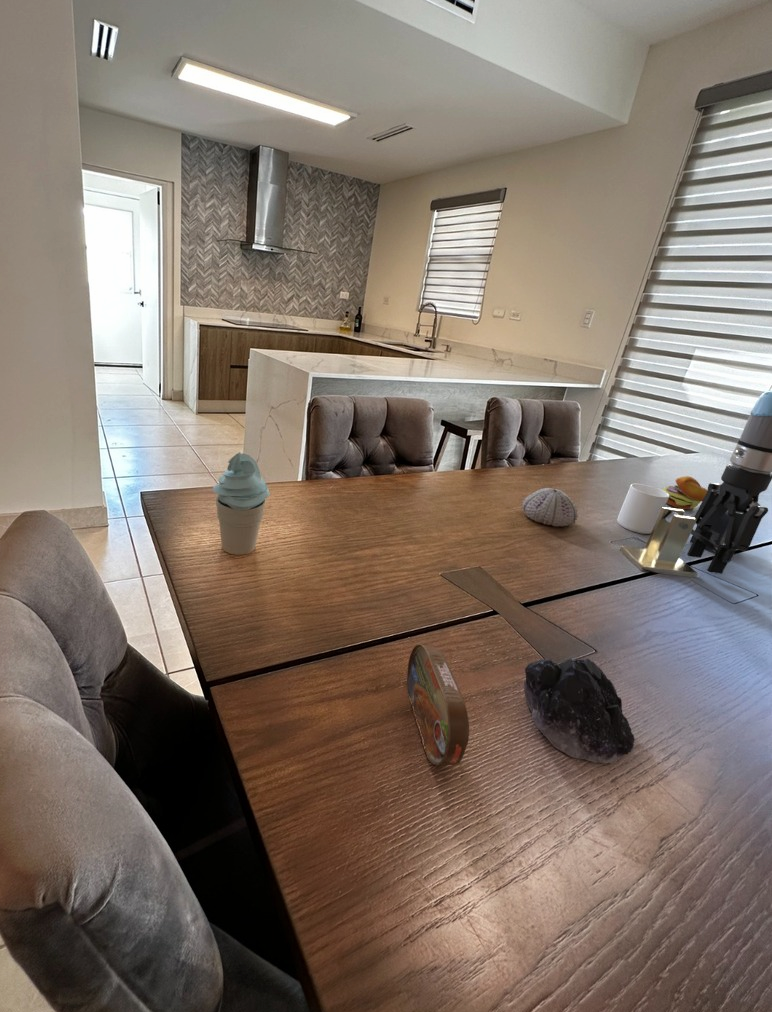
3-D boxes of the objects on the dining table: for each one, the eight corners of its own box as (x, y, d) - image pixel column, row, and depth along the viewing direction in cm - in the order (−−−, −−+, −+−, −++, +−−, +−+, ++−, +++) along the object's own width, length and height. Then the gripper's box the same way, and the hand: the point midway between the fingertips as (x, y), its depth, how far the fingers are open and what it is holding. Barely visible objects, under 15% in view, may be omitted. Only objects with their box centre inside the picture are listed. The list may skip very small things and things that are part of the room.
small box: (713, 537, 124) (730, 501, 120) (740, 550, 118) (760, 513, 114) (687, 541, 120) (704, 504, 116) (714, 554, 114) (733, 515, 110)
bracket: (670, 556, 110) (693, 507, 106) (696, 578, 102) (722, 526, 97) (619, 550, 111) (639, 500, 106) (640, 570, 102) (664, 518, 97)
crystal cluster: (637, 729, 63) (660, 666, 60) (619, 792, 53) (646, 720, 50) (535, 678, 71) (551, 620, 68) (502, 724, 61) (519, 659, 58)
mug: (660, 526, 127) (676, 490, 123) (648, 538, 119) (665, 499, 115) (625, 514, 132) (639, 478, 128) (611, 524, 124) (626, 487, 120)
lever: (700, 544, 107) (709, 537, 106) (719, 558, 102) (728, 550, 101) (658, 515, 105) (667, 507, 104) (675, 527, 100) (684, 519, 99)
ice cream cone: (274, 542, 96) (281, 449, 88) (243, 567, 86) (248, 465, 79) (232, 528, 99) (236, 437, 92) (198, 550, 90) (200, 451, 82)
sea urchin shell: (581, 534, 116) (592, 505, 113) (525, 525, 118) (534, 496, 115) (564, 512, 128) (574, 485, 125) (513, 504, 130) (522, 477, 127)
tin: (402, 678, 65) (413, 630, 62) (424, 679, 66) (436, 631, 63) (432, 783, 52) (449, 728, 48) (460, 783, 52) (478, 728, 49)
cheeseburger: (661, 493, 152) (682, 468, 147) (695, 514, 146) (718, 488, 140) (650, 499, 145) (672, 472, 140) (686, 520, 139) (710, 493, 134)
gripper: (701, 451, 106) (661, 541, 115) (769, 482, 88) (716, 586, 97) (734, 455, 105) (692, 545, 114) (810, 487, 88) (753, 590, 97)
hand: (703, 563), depth 106 cm, fingers closed on lever, 6 cm apart
